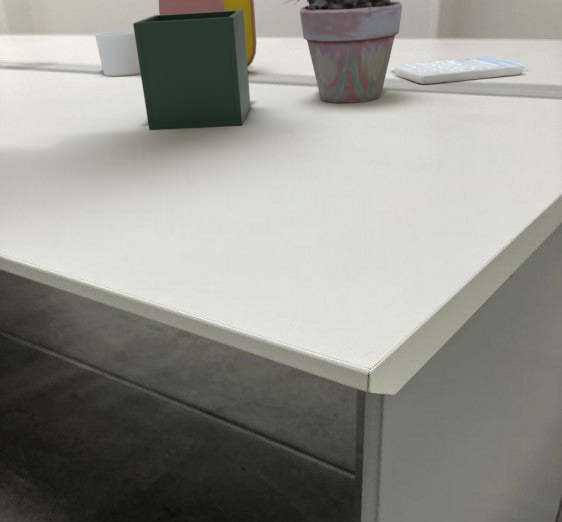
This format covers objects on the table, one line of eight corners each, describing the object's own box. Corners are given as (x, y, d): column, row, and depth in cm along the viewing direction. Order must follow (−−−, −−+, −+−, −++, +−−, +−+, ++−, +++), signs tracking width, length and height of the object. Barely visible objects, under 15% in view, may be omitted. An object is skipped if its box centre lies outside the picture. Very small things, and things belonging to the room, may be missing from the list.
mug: (133, 76, 146) (127, 34, 142) (92, 76, 150) (85, 35, 146) (164, 67, 157) (159, 27, 153) (125, 67, 160) (119, 29, 156)
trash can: (149, 129, 99) (132, 23, 92) (167, 111, 110) (153, 15, 103) (242, 125, 98) (233, 17, 91) (250, 107, 109) (243, 9, 102)
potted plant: (295, 89, 121) (288, -79, 108) (407, 86, 117) (413, -89, 104) (275, 110, 106) (264, -83, 93) (403, 106, 102) (410, -94, 89)
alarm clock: (261, 71, 142) (254, -37, 132) (224, 79, 135) (214, -34, 125) (200, 67, 153) (189, -34, 143) (163, 74, 146) (149, -31, 136)
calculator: (392, 75, 128) (392, 64, 127) (489, 65, 132) (490, 54, 131) (421, 85, 117) (421, 73, 116) (526, 74, 121) (527, 62, 120)
